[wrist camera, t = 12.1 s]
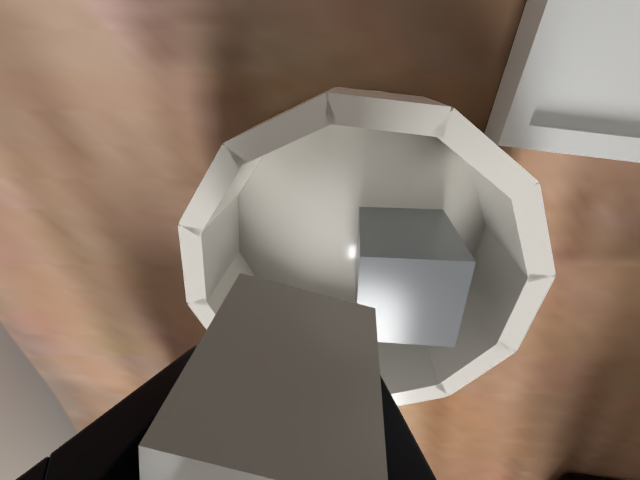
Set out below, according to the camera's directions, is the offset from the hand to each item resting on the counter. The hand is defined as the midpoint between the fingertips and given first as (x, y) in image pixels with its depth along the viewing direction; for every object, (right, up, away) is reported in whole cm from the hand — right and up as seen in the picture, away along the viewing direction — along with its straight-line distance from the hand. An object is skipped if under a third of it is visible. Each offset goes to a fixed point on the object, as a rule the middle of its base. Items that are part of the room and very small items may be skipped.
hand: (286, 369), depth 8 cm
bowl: (+3, +4, +7) cm, 9 cm away
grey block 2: (+4, +3, +7) cm, 9 cm away
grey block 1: (0, 0, +1) cm, 1 cm away
